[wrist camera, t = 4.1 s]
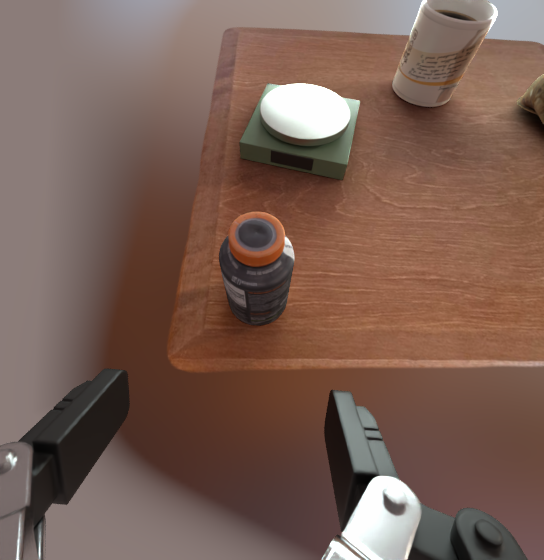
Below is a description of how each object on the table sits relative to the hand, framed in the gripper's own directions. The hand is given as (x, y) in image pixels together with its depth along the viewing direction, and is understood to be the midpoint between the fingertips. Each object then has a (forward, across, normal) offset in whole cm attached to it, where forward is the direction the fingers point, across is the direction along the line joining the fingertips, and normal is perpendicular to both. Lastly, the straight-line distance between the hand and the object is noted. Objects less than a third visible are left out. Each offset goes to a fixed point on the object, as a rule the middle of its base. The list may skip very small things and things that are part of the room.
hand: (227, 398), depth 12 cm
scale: (+37, -4, -16) cm, 41 cm away
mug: (+49, -24, -27) cm, 60 cm away
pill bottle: (+19, 0, +3) cm, 19 cm away
